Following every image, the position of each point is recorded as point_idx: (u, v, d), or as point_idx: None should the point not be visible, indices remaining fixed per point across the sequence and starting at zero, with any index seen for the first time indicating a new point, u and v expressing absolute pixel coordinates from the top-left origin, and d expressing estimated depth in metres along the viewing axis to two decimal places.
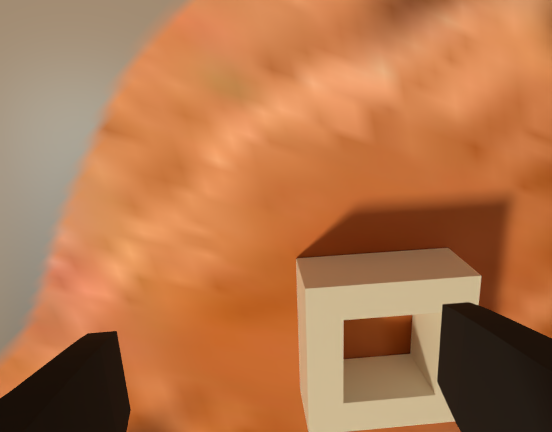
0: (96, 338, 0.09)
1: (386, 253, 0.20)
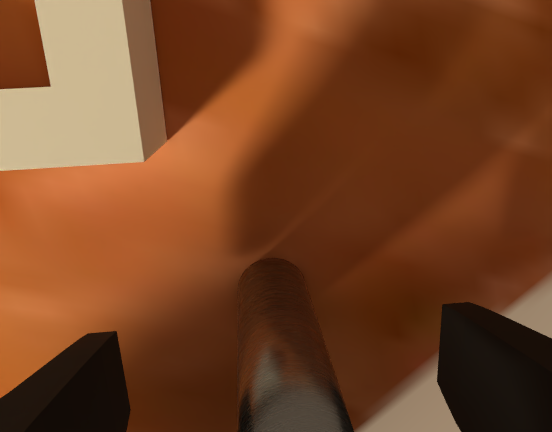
0: (96, 338, 0.09)
1: None
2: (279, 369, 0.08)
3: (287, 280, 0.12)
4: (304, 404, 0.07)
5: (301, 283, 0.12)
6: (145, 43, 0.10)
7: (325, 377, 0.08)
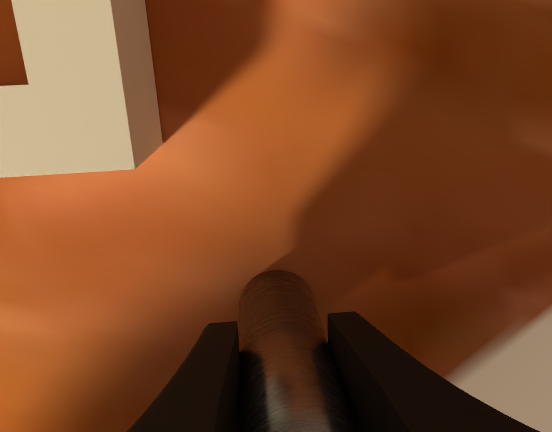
0: (223, 328, 0.09)
1: None
2: (287, 406, 0.07)
3: (294, 295, 0.11)
4: None
5: (308, 299, 0.11)
6: (137, 36, 0.09)
7: (338, 414, 0.07)
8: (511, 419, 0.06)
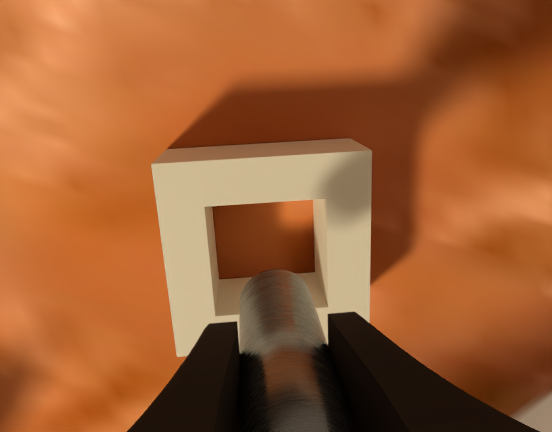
0: (223, 327, 0.09)
1: (274, 143, 0.17)
2: (278, 401, 0.07)
3: (288, 292, 0.11)
4: None
5: (304, 294, 0.11)
6: None
7: (330, 404, 0.07)
8: (511, 419, 0.06)
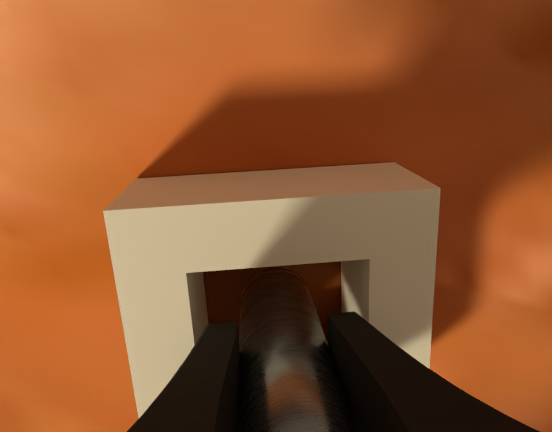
0: (223, 327, 0.09)
1: (288, 170, 0.12)
2: (279, 401, 0.07)
3: (288, 292, 0.11)
4: None
5: (304, 293, 0.11)
6: None
7: (330, 404, 0.07)
8: (511, 419, 0.06)
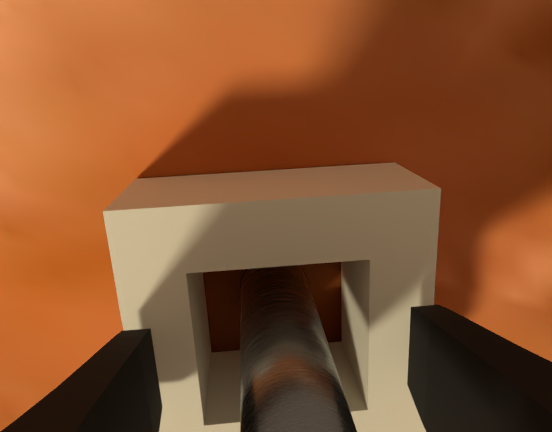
0: (132, 335, 0.09)
1: (289, 170, 0.12)
2: (276, 370, 0.08)
3: (286, 278, 0.12)
4: (301, 405, 0.07)
5: (301, 280, 0.12)
6: None
7: (323, 373, 0.08)
8: None
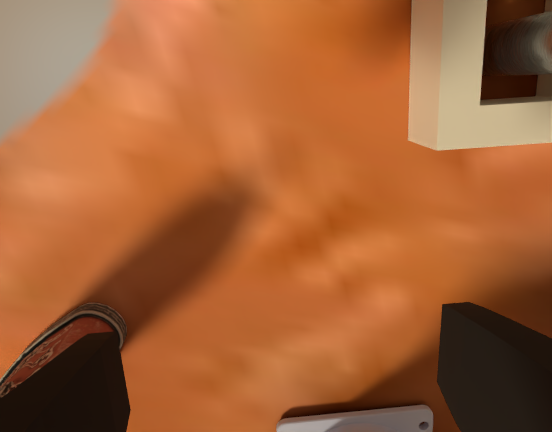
0: (96, 338, 0.09)
1: None
2: None
3: None
4: None
5: None
6: None
7: None
8: None
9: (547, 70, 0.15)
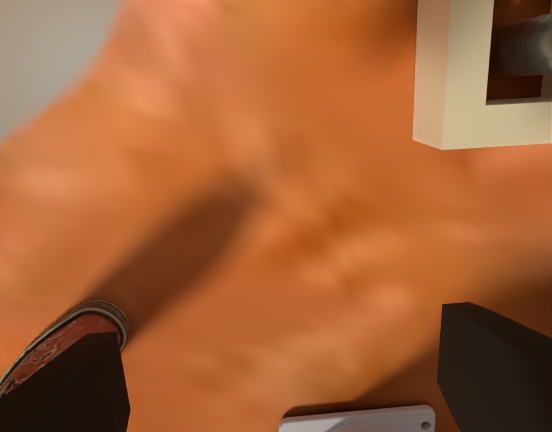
0: (96, 338, 0.09)
1: None
2: None
3: None
4: None
5: None
6: None
7: None
8: None
9: None
